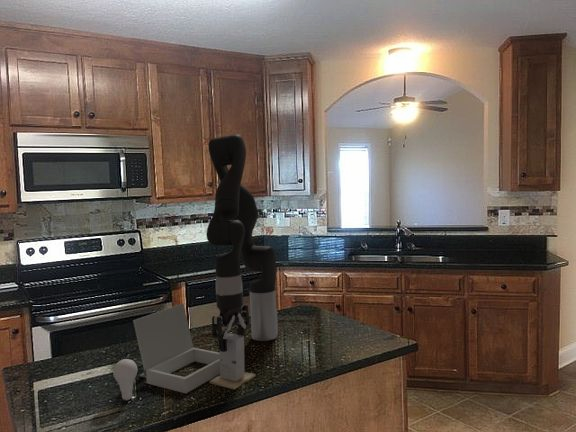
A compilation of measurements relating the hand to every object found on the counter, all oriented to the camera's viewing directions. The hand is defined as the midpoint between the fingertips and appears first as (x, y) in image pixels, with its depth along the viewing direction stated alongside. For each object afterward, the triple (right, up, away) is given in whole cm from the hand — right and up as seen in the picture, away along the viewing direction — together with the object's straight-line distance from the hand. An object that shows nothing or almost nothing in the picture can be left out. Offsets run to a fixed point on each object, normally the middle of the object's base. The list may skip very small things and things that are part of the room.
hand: (232, 346), depth 140 cm
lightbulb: (-27, -12, -10) cm, 31 cm away
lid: (-21, +1, +9) cm, 23 cm away
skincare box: (0, -9, +1) cm, 9 cm away
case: (-13, -10, +5) cm, 17 cm away
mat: (0, -10, +1) cm, 10 cm away
